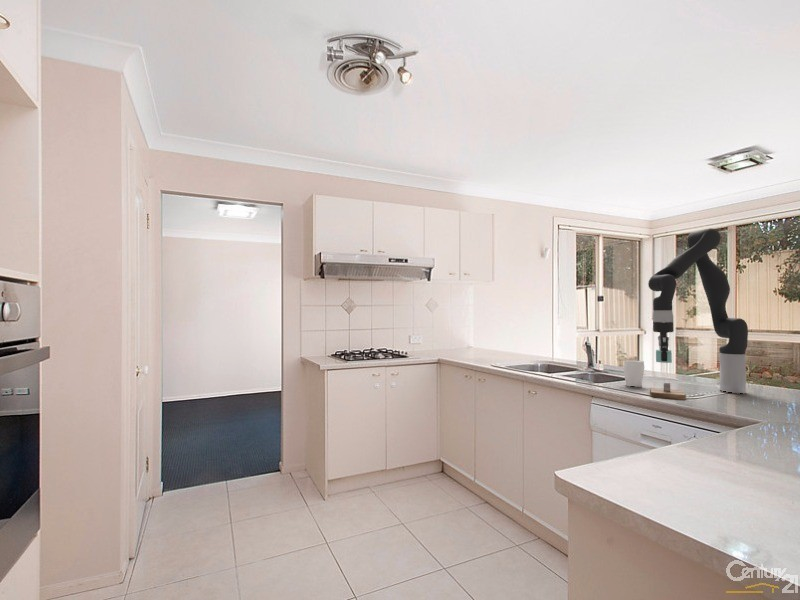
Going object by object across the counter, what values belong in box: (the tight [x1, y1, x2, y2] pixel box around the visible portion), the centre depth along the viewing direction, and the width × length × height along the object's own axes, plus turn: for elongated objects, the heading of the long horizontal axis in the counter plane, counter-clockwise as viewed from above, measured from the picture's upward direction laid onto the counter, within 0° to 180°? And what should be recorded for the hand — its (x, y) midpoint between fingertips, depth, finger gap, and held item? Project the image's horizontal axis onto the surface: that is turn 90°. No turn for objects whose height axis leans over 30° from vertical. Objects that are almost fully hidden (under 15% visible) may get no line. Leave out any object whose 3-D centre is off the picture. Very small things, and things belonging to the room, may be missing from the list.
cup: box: [622, 359, 645, 388], centre depth 202 cm, size 9×9×12 cm
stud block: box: [649, 382, 687, 401], centre depth 177 cm, size 12×12×6 cm
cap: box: [655, 349, 673, 364], centre depth 179 cm, size 6×6×5 cm
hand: (663, 360), depth 179 cm, fingers closed on cap, 5 cm apart
